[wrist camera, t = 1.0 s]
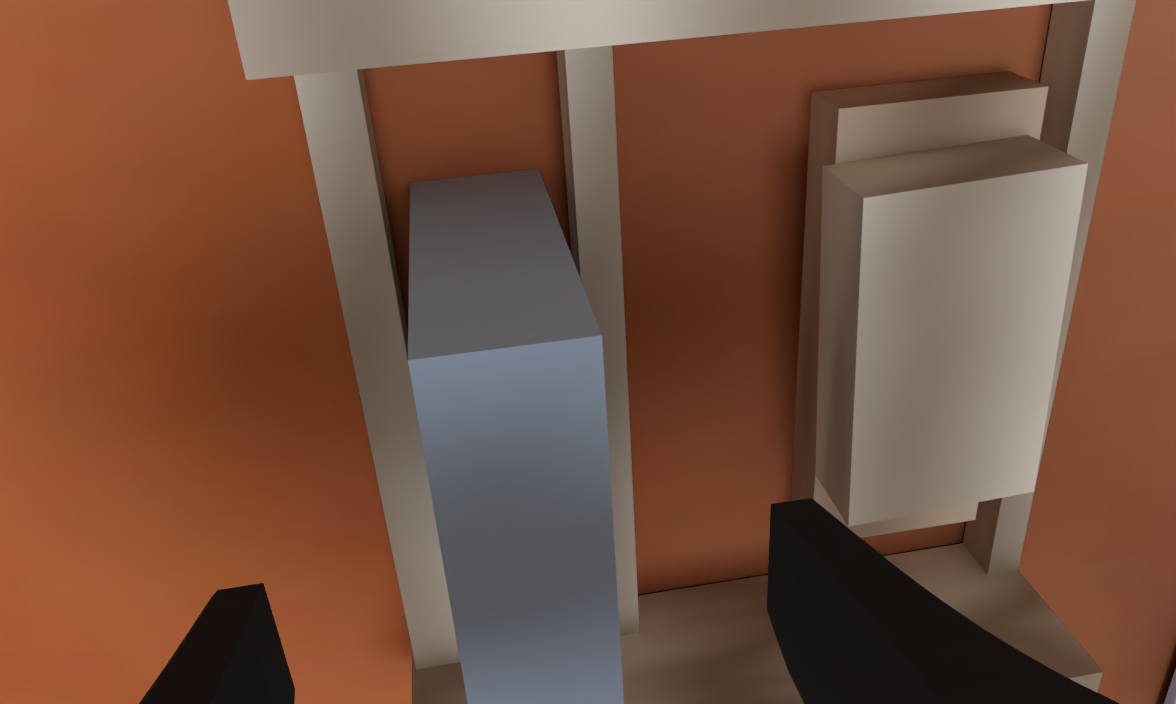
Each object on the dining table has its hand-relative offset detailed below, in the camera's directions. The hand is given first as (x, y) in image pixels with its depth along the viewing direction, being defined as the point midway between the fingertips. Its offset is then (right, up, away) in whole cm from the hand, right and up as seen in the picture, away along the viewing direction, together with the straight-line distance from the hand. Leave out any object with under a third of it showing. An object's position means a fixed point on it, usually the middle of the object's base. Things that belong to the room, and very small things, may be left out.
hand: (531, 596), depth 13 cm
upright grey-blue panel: (-1, +3, +6) cm, 7 cm away
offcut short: (+7, +4, +6) cm, 10 cm away
